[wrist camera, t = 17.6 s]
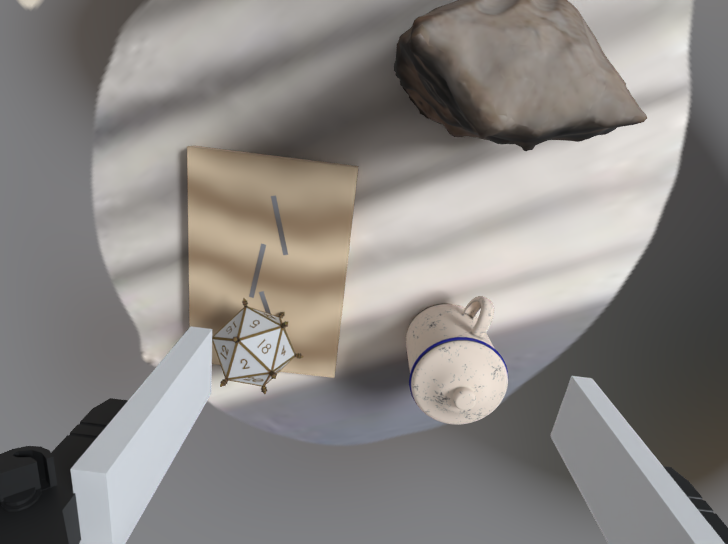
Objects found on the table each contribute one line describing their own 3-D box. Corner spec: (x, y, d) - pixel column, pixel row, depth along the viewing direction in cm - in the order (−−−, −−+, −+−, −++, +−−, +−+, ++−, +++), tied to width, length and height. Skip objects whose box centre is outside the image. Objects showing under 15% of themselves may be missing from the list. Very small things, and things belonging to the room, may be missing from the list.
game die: (289, 312, 50) (333, 365, 43) (233, 365, 49) (269, 428, 42) (240, 267, 44) (282, 321, 37) (175, 327, 43) (205, 394, 36)
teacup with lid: (461, 384, 51) (486, 458, 40) (389, 356, 50) (395, 424, 39) (513, 296, 47) (557, 350, 36) (437, 264, 46) (457, 310, 35)
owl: (550, 122, 41) (702, 126, 22) (424, 176, 43) (465, 222, 24) (510, -22, 37) (652, -164, 19) (373, 44, 39) (376, -24, 20)
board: (193, 145, 42) (187, 146, 41) (358, 166, 43) (358, 167, 41) (195, 354, 50) (189, 361, 48) (335, 370, 50) (334, 377, 49)
